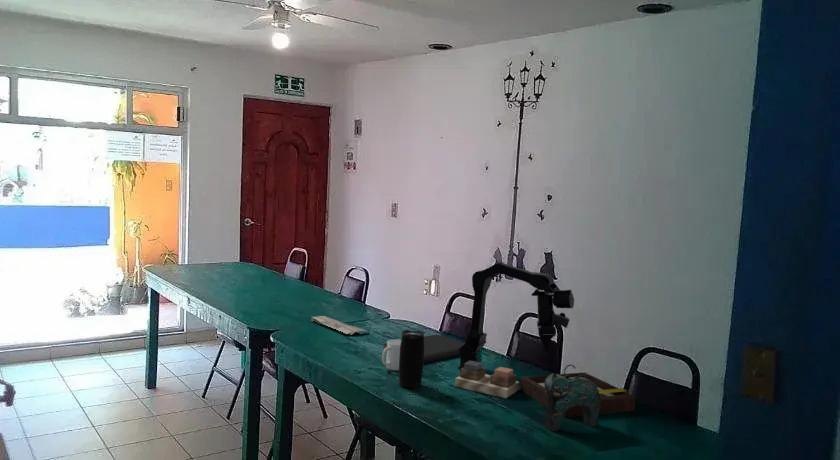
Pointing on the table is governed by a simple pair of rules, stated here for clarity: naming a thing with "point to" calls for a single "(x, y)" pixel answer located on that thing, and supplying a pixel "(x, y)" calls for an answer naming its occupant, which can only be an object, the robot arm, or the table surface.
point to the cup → (392, 355)
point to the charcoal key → (473, 366)
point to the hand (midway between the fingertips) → (547, 349)
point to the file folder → (439, 348)
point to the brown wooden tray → (610, 403)
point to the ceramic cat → (571, 399)
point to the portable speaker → (411, 359)
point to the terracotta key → (503, 372)
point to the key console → (487, 383)
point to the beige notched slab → (337, 325)
